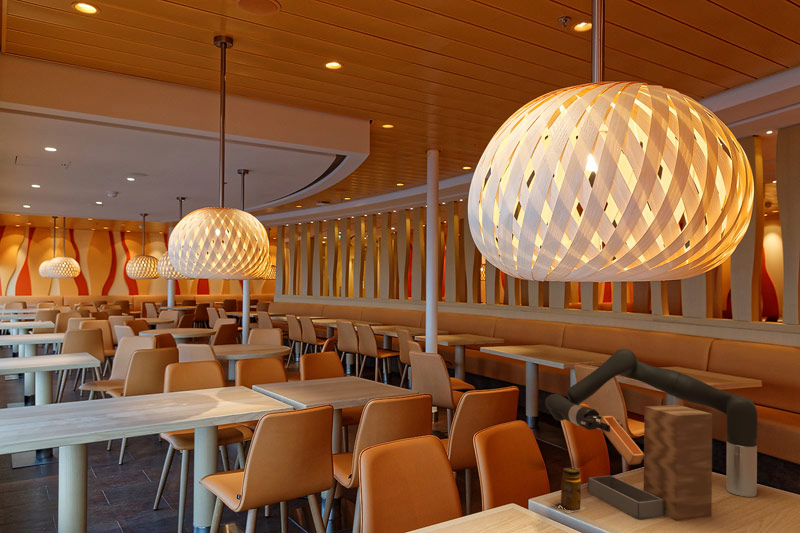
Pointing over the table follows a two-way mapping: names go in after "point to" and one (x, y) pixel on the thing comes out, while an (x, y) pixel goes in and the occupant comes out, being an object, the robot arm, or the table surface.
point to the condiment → (570, 491)
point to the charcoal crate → (626, 497)
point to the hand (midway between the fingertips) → (615, 428)
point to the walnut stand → (679, 460)
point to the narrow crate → (622, 441)
